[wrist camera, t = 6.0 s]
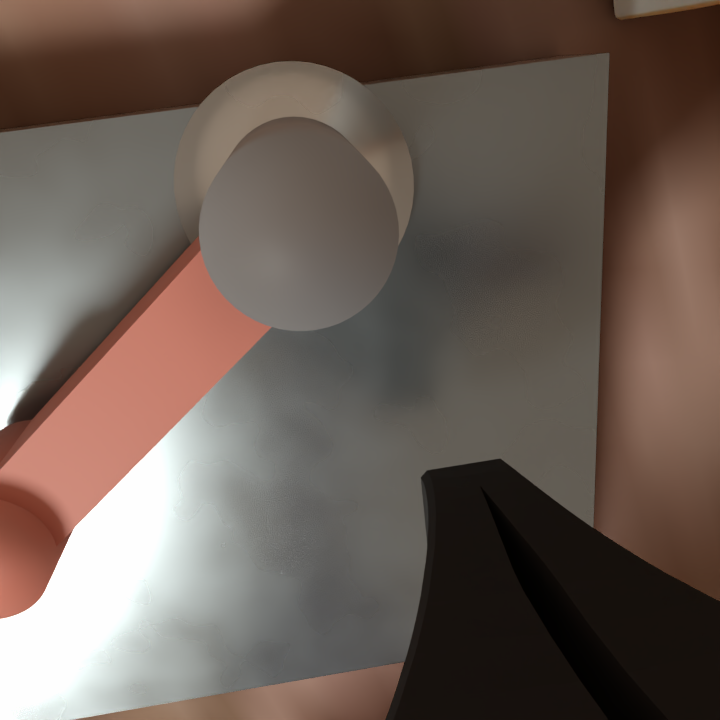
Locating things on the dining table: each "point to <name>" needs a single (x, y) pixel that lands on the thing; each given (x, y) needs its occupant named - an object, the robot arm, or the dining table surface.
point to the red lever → (197, 330)
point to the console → (303, 374)
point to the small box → (656, 7)
